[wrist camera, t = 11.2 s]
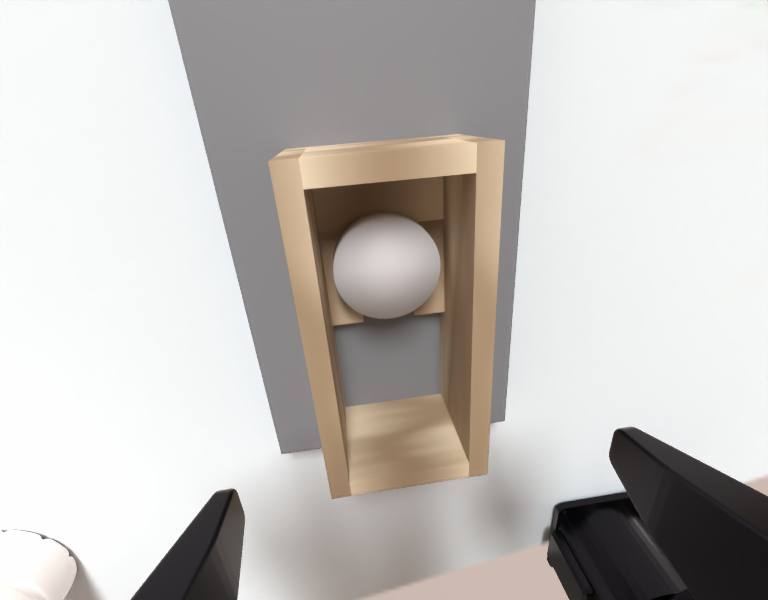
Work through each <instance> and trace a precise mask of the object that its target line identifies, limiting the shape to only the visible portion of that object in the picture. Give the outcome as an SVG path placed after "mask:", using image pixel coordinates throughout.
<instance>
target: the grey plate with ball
mask: <svg viewBox="0 0 768 600" xmlns="http://www.w3.org/2000/svg"><path fill="white" fill-rule="evenodd" d="M168 1H169V5H170V9H171V13H172V17H173V21H174V25H175V29H176V33H177V37H178V41H179V45H180V49H181V53H182V57H183V61H184V65H185V69H186V73H187V77H188V81H189V85H190V89H191V93H192V97H193V101H194V105H195V109H196V113H197V117H198V121H199V125H200V129H201V133H202V137H203V141H204V145H205V149H206V153H207V157H208V161H209V165H210V169H211V173H212V177H213V181H214V185H215V189H216V193H217V197H218V201H219V205H220V209H221V214H222V218H223V222H224V226H225V230H226V234H227V238H228V242H229V246H230V250H231V254H232V258H233V262H234V266H235V270H236V274H237V278H238V282H239V286H240V290H241V294H242V298H243V302H244V306H245V310H246V314H247V318H248V322H249V326H250V330H251V334H252V338H253V342H254V346H255V350H256V354H257V358H258V362H259V366H260V370H261V374H262V378H263V382H264V386H265V390H266V394H267V398H268V402H269V406H270V410H271V414H272V418H273V422H274V426H275V430H276V434H277V438H278V442H279V446H280V450H281V454H285V453H292V452H299V451H305V450H312V449H319V448H322V444H321V439H320V434H319V428H318V423H317V418H316V412H315V407H314V402H313V397H312V391H311V386H310V381H309V375H308V370H307V365H306V360H305V354H304V349H303V344H302V338H301V333H300V328H299V323H298V317H297V312H296V307H295V301H294V296H293V291H292V286H291V280H290V275H289V270H288V264H287V259H286V254H285V249H284V243H283V238H282V233H281V227H280V222H279V217H278V212H277V206H276V201H275V196H274V190H273V185H272V180H271V174H270V169H269V164H268V161H270V160H271V159H272V158H274V157H275V156H276V155H278V154H279V153H281V152H282V151H283V150H285V149H292V148H303V147H315V146H326V145H338V144H349V143H361V142H372V141H384V140H395V139H406V138H418V137H429V136H441V135H452V134H462V135H469V136H477V137H484V138H491V139H499V140H505V153H504V171H503V190H502V209H501V228H500V246H499V265H498V284H497V303H496V321H495V340H494V359H493V378H492V397H491V415H490V423H494V422H501V421H505V409H506V395H507V382H508V368H509V354H510V341H511V327H512V314H513V300H514V287H515V273H516V260H517V246H518V233H519V219H520V206H521V192H522V179H523V165H524V152H525V138H526V124H527V111H528V97H529V84H530V70H531V57H532V43H533V30H534V16H535V3H536V0H168ZM440 265H441V264H440V256H439V252H438V249H437V246H436V244H435V243H434V241H433V239H432V238H431V237H430V235H429V234H428V233H427V232H426V230H425V229H424V228H423V227H422V226H421V225H420V224H419V223H418V222H417V221H415V220H414V219H412V218H411V217H409V216H407V215H404V214H402V213H398V212H393V211H379V212H373V213H370V214H367V215H364V216H362V217H360V218H359V219H357V220H355V221H354V222H353V223H351V224H350V225H349V226H348V227H347V228H346V229H345V230H344V232H343V233H342V235H341V236H340V238H339V240H338V242H337V244H336V247H335V250H334V255H333V274H334V281H335V285H336V287H337V290H338V292H339V294H340V296H341V297H342V298H343V300H344V301H345V302H346V303H347V304H348V305H349V306H350V307H351V308H352V309H354V310H355V311H357V312H359V313H361V314H363V320H364V322H358V323H350V324H342V325H334V333H335V340H336V347H337V354H338V361H339V367H340V374H341V381H342V388H343V395H344V401H345V407H350V406H357V405H364V404H372V403H379V402H386V401H393V400H400V399H407V398H414V397H421V396H428V395H435V394H441V350H440V312H439V313H431V314H423V315H415V316H414V314H413V312H412V311H414V310H416V309H417V308H418V307H420V306H421V305H422V304H423V303H424V302H425V301H426V300H427V299H428V298H429V297H430V296H431V294H432V292H433V291H434V289H435V287H436V285H437V282H438V279H439V275H440Z"/></svg>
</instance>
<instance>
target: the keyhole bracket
mask: <svg viewBox="0 0 768 600" xmlns="http://www.w3.org/2000/svg"><path fill="white" fill-rule="evenodd" d="M504 153H505V140H499V139H491V138H484V137H477V136H469V135H462V134H452V135H441V136H429V137H418V138H406V139H395V140H384V141H372V142H361V143H349V144H338V145H326V146H315V147H303V148H292V149H285V150H283V151H282V152H281V153H279V154H278V155H276V156H275V157H274V158H272V159H271V160H270V161H268V164H269V169H270V174H271V180H272V185H273V190H274V196H275V201H276V206H277V212H278V217H279V222H280V227H281V233H282V238H283V243H284V249H285V254H286V259H287V264H288V270H289V275H290V280H291V286H292V291H293V296H294V301H295V307H296V312H297V317H298V323H299V328H300V333H301V338H302V344H303V349H304V354H305V360H306V365H307V370H308V375H309V381H310V386H311V391H312V397H313V402H314V407H315V412H316V418H317V423H318V428H319V434H320V439H321V444H322V450H323V455H324V460H325V465H326V471H327V476H328V481H329V487H330V492H331V497H332V499H335V498H341V497H347V496H353V495H360V494H366V493H372V492H378V491H385V490H391V489H397V488H404V487H410V486H416V485H422V484H429V483H435V482H441V481H448V480H454V479H460V478H466V477H473V476H479V475H485V474H487V472H488V453H489V434H490V415H491V397H492V378H493V359H494V340H495V321H496V303H497V284H498V265H499V246H500V228H501V209H502V190H503V171H504ZM379 211H393V212H398V213H402V214H404V215H407V216H409V217H411V218H412V219H414V220H415V221H417V222H418V223H419V224H420V225H421V226H422V227H423V228H424V229H425V230H426V232H427V233H428V234H429V235H430V237H431V238H432V239H433V241H434V243H435V244H436V246H437V249H438V252H439V256H440V264H441V265H440V275H439V279H438V282H437V285H436V287H435V289H434V291H433V292H432V294H431V296H430V297H429V298H428V299H427V300H426V301H425V302H424V303H423V304H422V305H421V306H420V307H418V308H417V309H416V310H414V311H412V312H413V314H414V316H415V315H423V314H431V313H439V312H440V350H441V394H435V395H428V396H421V397H414V398H407V399H400V400H393V401H386V402H379V403H372V404H364V405H357V406H350V407H345V401H344V395H343V388H342V381H341V374H340V367H339V361H338V354H337V347H336V340H335V333H334V325H342V324H350V323H358V322H364V320H363V314H361V313H359V312H357V311H355V310H354V309H352V308H351V307H350V306H349V305H348V304H347V303H346V302H345V301H344V300H343V298H342V297H341V296H340V294H339V292H338V290H337V287H336V285H335V281H334V274H333V255H334V250H335V247H336V244H337V242H338V240H339V238H340V236H341V235H342V233H343V232H344V230H345V229H346V228H347V227H348V226H349V225H350V224H351V223H353V222H354V221H355V220H357V219H359V218H360V217H362V216H364V215H367V214H370V213H373V212H379Z"/></svg>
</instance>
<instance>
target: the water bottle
mask: <svg viewBox="0 0 768 600" xmlns="http://www.w3.org/2000/svg"><path fill="white" fill-rule="evenodd" d="M76 573H77V566H76V562H75V560H74V558H73V557H72V556H69V553H68V551H67V549H66V548H65V547H63V546H62V545H60V544H59V543H57V542H56V541H54V540H52V539H42V538H41V536H40V535H38V534H36V533H32V532H27V531H20V530H10V531H7V532H3V531H1V530H0V600H64V599H65V597H66V595H67V594H68V592H69V590H70V588H71V586H72V584H73V582H74V579H75V577H76Z"/></svg>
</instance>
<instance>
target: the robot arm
mask: <svg viewBox="0 0 768 600" xmlns="http://www.w3.org/2000/svg"><path fill="white" fill-rule="evenodd" d="M609 458H610V461H611V464H612V466H613V468H614V469H615V471H616V473H617V475H618V477H619V479H620V480H621V482H622V484H623V486H624V488H625V489H626V491H627V492H626V493H620V494H614V495H608V496H602V497H596V498H590V499H584V500H578V501H572V502H566V503H562V504H559V505H558V506H557V507H556V509H555V514H554V520H553V526H552V532H551V535H550V541H549V547H548V553H547V555H548V557H547V560H548V563H549V565H550V566H551V567H553V568H554V570H555V572H556V573H557V576H558V578H559V580H560V582H561V583H562V586H563V588H564V590H565V591H566V594H567V596H568V598H569V599H570V600H768V496H766V495H764V494H762V493H760V492H759V491H757V490H754V489H753V488H751V487H749V486H747V485H745V484H743V483H741V482H739V481H737V480H735V479H733V478H732V477H730V476H728V475H726V474H724V473H722V472H720V471H718V470H716V469H714V468H712V467H710V466H708V465H707V464H705V463H703V462H701V461H699V460H697V459H695V458H693V457H691V456H689V455H687V454H685V453H683V452H681V451H680V450H678V449H676V448H674V447H672V446H670V445H668V444H666V443H664V442H662V441H660V440H658V439H656V438H654V437H653V436H651V435H649V434H647V433H645V432H643V431H641V430H639V429H637V428H635V427H626V428H619V429H616V430H615V432H614V434H613V438H612V443H611V447H610V451H609ZM244 526H245V515H244V511H243V508H242V505H241V502H240V499H239V496H238V493H237V491H236V490H235V489H226V490H220V491H217V492H216V493H214V494H213V496H212V497H211V498H210V499H209V501H208V502H207V503H206V504H205V506H204V507H203V508H202V510H201V511H200V512H199V513H198V515H197V516H196V517H195V518H194V520H193V521H192V522H191V524H190V525H189V526H188V527H187V529H186V530H185V531H184V532H183V534H182V535H181V536H180V537H179V539H178V540H177V541H176V543H175V544H174V545H173V546H172V548H171V549H170V550H169V551H168V553H167V554H166V555H165V557H164V558H163V559H162V560H161V562H160V563H159V564H158V565H157V567H156V568H155V569H154V571H153V572H152V573H151V574H150V576H149V577H148V578H147V579H146V581H145V582H144V583H143V584H142V586H141V587H140V588H139V590H138V591H137V592H136V593H135V595H134V596H133V597H132V598H131V600H237V597H238V588H239V578H240V568H241V557H242V547H243V536H244Z"/></svg>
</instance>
